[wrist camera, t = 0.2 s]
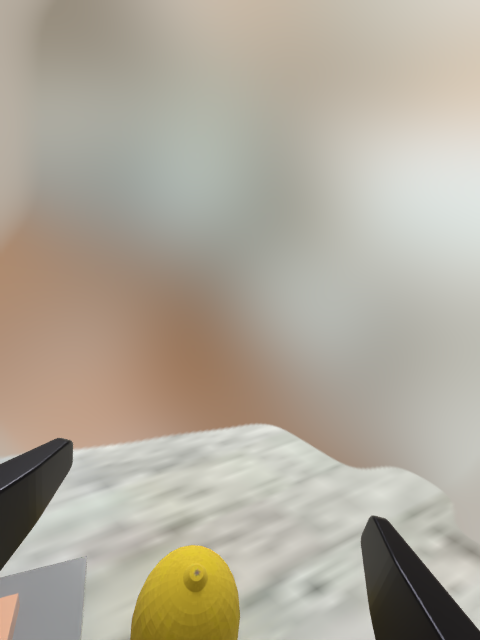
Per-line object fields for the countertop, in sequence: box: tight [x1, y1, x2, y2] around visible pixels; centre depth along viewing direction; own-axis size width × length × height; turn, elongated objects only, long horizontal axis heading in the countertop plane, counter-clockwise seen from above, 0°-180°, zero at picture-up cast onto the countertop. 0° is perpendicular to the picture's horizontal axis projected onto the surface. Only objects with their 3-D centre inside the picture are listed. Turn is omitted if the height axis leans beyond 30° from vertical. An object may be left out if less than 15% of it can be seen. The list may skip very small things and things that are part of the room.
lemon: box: [130, 545, 240, 640], centre depth 16 cm, size 6×6×8 cm
